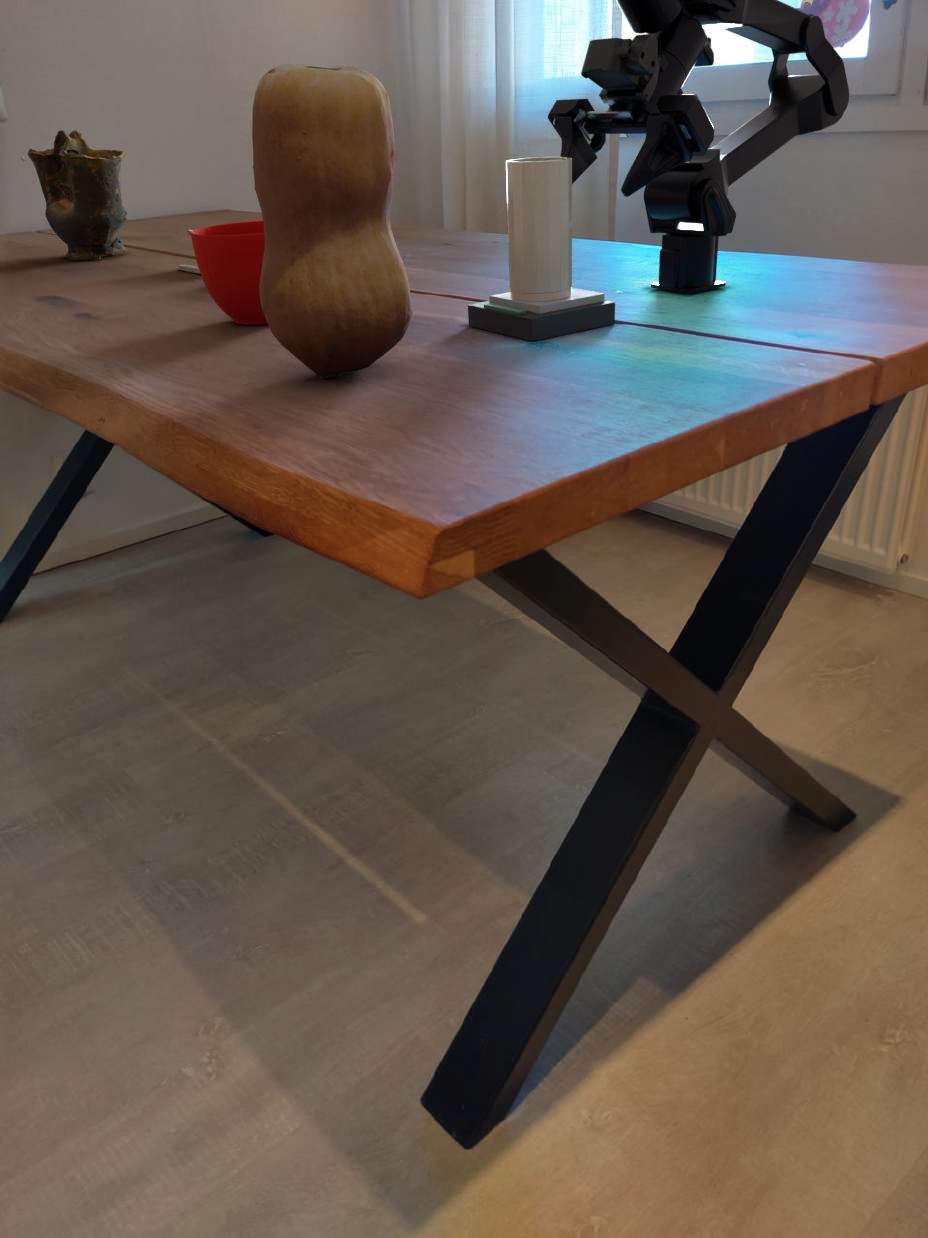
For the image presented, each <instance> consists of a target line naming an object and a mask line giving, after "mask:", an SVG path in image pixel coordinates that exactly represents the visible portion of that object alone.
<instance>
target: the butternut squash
mask: <svg viewBox="0 0 928 1238" xmlns="http://www.w3.org/2000/svg"><path fill="white" fill-rule="evenodd" d="M251 113H252V114H251V115H252V117H251V120H252V121H251V122H252V123H251V125H252V126H251V138H252V160H253V161H252V162H253V163H252V171H253V180H254V191H255V193H256V194H255V195H256V197H257V201H258V205H259V207H260V208H259V209H260V211H261V216H262V221H263V222H264V234H265V252H264V258H263V265H262V271H261V278H260V301H261V306H262V308H263V310H262V311H263V312H264V314H265V317H266V320H267V323H268V324H267V325H268V327H269V330H270V332H271V333H272V335H273V337H274V338H275V339H276V340H277V342H278V343H279V344H280V345H281V346H282V347H283V348H284V349H286V350H287V351H288V352H289V353H290V354H291V355H292V356H294V357H295V358H296V359H297V360H298V361H300V363H302V364H303V365H304V366H305V367H307V368H308V369H309V370H310V371H312V372H313V373H314V374H315V375H316V376H317V377H319V378H321V379H330V378H335V377H340V376H342V375H345V374H347V373H353V372H357V371H360V370H363V369H367V368H370V367H371V366H372V365H373V364H374V363H376V361H378V360H379V359H381V358H382V357H384V356H385V354H387V353H388V352H389V351H391V350H392V349H394V347H396V346H397V344H399V343H400V341H402V340H403V338H404V336H405V334H406V332H407V330H408V328H409V327H410V324H411V320H412V317H413V309H412V299H411V289H410V282H409V277H408V274H407V271H406V268H405V264H404V262H403V259H402V256H401V253H400V251H399V249H398V246H397V243H396V239H395V238H394V234H393V230H392V225H391V205H392V197H393V188H394V178H395V177H394V176H395V166H396V165H395V163H396V153H397V148H396V147H397V146H396V141H395V132H394V122H393V115H392V110H391V101H390V97H389V94H388V93H387V90H386V88H385V86H384V85H383V84H382V82H381V81H380V80H379V79H378V78H377V77H376V76H374V75H373V74H372V73H370V72H368V71H366V70H364V69H362V68H359V67H356V66H351V65H338V66H330V67H322V66H315V65H309V64H304V63H281V64H280V63H279V64H277V65H274V66H272V67H271V68H269V69H268V70H267V71H266V72H265V73H264V74H263V75H262V76H261V78H260V79H259V81H258V84H257V86H256V90H255V93H254V97H253V104H252V112H251Z"/></svg>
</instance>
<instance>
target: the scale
mask: <svg viewBox="0 0 928 1238" xmlns="http://www.w3.org/2000/svg"><path fill="white" fill-rule="evenodd" d="M488 297H489V300H487V301H481V302H476V303H475V302H474V303H471V304H467V318H468V319H467V321H468V327H471V328H476V329H480V330H483V331H484V330H485V331H488V332H492V333H496V334H500V335H505V336H508V337H513V338H515V339H516V338H517V339H521V340H525V341H529V342H537V341H541V340H546V339H550V338H555V337H560V336H565V335H570V334H574V333H579V332H583V331H587V330H588V331H589V330H592V329H598V328H603V327H606V326H610V325H615V324H616V302H615V301H611V300H606V299H605V297H606V295H605V293H603V292H598V291H594V290H593V291H592V290H588V289H587V290H586V289H581V288H575V287H572V294H571V296H570V297H567V298H564V299H560V300H553V301H539V302H531V301H519V300H514V299H512V298H510V291H508V292H503V293H497V294H491V295H489V296H488Z"/></svg>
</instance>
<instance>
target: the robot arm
mask: <svg viewBox="0 0 928 1238" xmlns="http://www.w3.org/2000/svg"><path fill="white" fill-rule="evenodd" d="M615 2H616V4H617V6H618V7H619V9H620V11H621V13H622V15H623V17H624V19H625V20H626V22H627V24H628V26H629V28H630V30H631V31H632V32H633V33H635V34H636V35H635V36H634V37H633V39H631V38H622V37H621V38H620V37H610V38H609V37H608V38H599V39H591V40H590V41H589V44H588V46H587V50H586V54H585V56H584V62H583V64H582V68H581V71H580V75H581V76H582V77H583V78H584V79H589V80H590V82H591V81H592V82H593V83H594V84H595V85H596V86H598V87H600V88H601V90H600V92H599V94H598V96H599V99H600V100H601V101H602V103H603V105H605V104H606V105H608V109H607V110H595V108H594V107H593V105H592V104H591V102H590V100H589V98H570V99H568V98H567V99H566V98H565V99H556V101H555V102H554V104H553V105H552V107H551V109H550V111H549V112H548V115H547V119H548V121H549V122H550V124H551V126H552V127H553V129H554V130H555V132H556V133H557V134H558V136H559V138H560V140H561V144H560V155H559V157H571V158H572V185H574V183H576V181H577V180H578V179H579V178H580V177H581V176H582V175H583V174H584V173H585V172H586V171H587V170H588V169H589V168H590V167H591V166H592V165H593V164H594V163H595V162H596V161H597V159H598V155H597V153H598V152H599V151H601V150H602V148H603V147H604V145H605V144H606V142H607V135H625V136H626V137H627V138H644V141H643V143H642V145H641V147H640V149H639V151H638V153H637V155H636V157H635V159H634V161H633V163H632V164H631V166H630V168H629V170H628V171H627V174H626V176H625V178H624V181H623V183H622V186H621V188H620V193H622V195H623V197H625V198H628V197H631V196H632V195H633V194H635V193H637V192H638V191H639V190H641V189H642V188H644V190H643V203H644V208H645V213H646V218H647V223H648V228H649V233H650V234H662V235H661V248H660V249H659V258H658V259H659V261H658V263H659V264H658V281H657V282H651V283H650V288H652V289H657V290H663V291H664V290H665V291H671V292H675V293H676V292H677V293H683V294H693V293H698V292H704V291H709V290H712V289H717V288H723V287H726V284H727V282H726V281H723V280H717V270H718V268H717V267H718V255H719V254H718V253H719V252H718V251H719V237H725V236H726V237H727V235H728V234H732V233H733V231H734V226H735V222H736V219H737V212H736V210H735V209H734V207H733V205H732V203H731V202H730V200H729V198H728V194H729V188H730V187H731V185H733V184H735V182H737V181H738V180H740V179H741V178H742V177H744V176H745V175H747V173H749V172H750V171H752V170H753V169H754V168H755V167H757V166H758V165H760V164H761V163H762V162H763V161H765V160H766V159H768V158H769V157H770V156H771V155H773V154H774V153H776V152H778V150H780V149H781V148H782V147H784V146H785V145H786V144H788V143H789V142H790V141H792V140H793V139H794V138H796V137H798V136H803V135H807V134H811V133H816V132H820V131H823V130H825V129H828V128H830V127H832V126H835V125H836V124H837V123H838V122H839V121H841V119H842V117H843V116H844V113H845V112H846V110H847V108H848V106H849V103H850V88H849V83H848V77H847V72H846V67H845V63H844V60H843V58H842V57H841V56H840V54H839V52H837V51H836V49H835V48H834V47H833V45H832V44H831V43H830V41H829V40H828V39H827V38H826V34H825V29H824V24H823V20H822V18H821V17H820V16H819V15H815V14H814V13H807V12H804V11H802V10H799V9H798V8H795V7H794V6H792V5H790V4H787V3H785V2H782V1H781V0H615ZM705 29H720V30H721V29H722V30H725V31H728V32H730V33H732V34H734V35H737V36H740V37H742V38H744V39H747V40H750V41H752V42H754V43H757V44H759V45H761V46H764V47H766V48H769V49H771V54H772V57H773V61H772V64H771V69H770V72H769V76H768V78H767V85H768V89H769V103H768V106H767V107H766V108H765V109H763V110H762V111H760V112H759V113H758V114H756V115H755V116H753V117H752V118H750V119H749V120H748V121H746V122H745V123H744V124H742V125H741V126H740V127H738V128H737V129H735V130H734V131H732V132H731V133H729V134H728V135H727V136H726V137H724V138H723V139H722V140H720V141H719V142H717V143H716V144H715V145H713V146H712V147H711V145H712V143H713V141H714V139H715V127H714V125H713V123H712V122H711V119H710V117H709V116H708V113H707V111H706V109H705V108H704V106H703V104H702V102H701V99H700V98H699V96H698V93H687V94H686V93H684V91H683V86H684V84H685V83H686V81H687V79H688V78H689V76H690V74H691V72H692V70H693V69H694V68H696V67H699V68H700V67H710V66H711V67H712V66H713V65H714V63H715V53H714V49H713V48H712V38H711V37H708V35H707V33H706V31H705ZM795 54H796V55H797V54H805V57H806V59H807V61H808V62H809V64H810V65H811V66H812V67H813V68H814V69H815V71H816V72H817V73H813V74H812V73H810V74H808V73H807V74H791V75H789V71H788V67H787V64H788V60H789V57H790V55H795Z"/></svg>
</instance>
